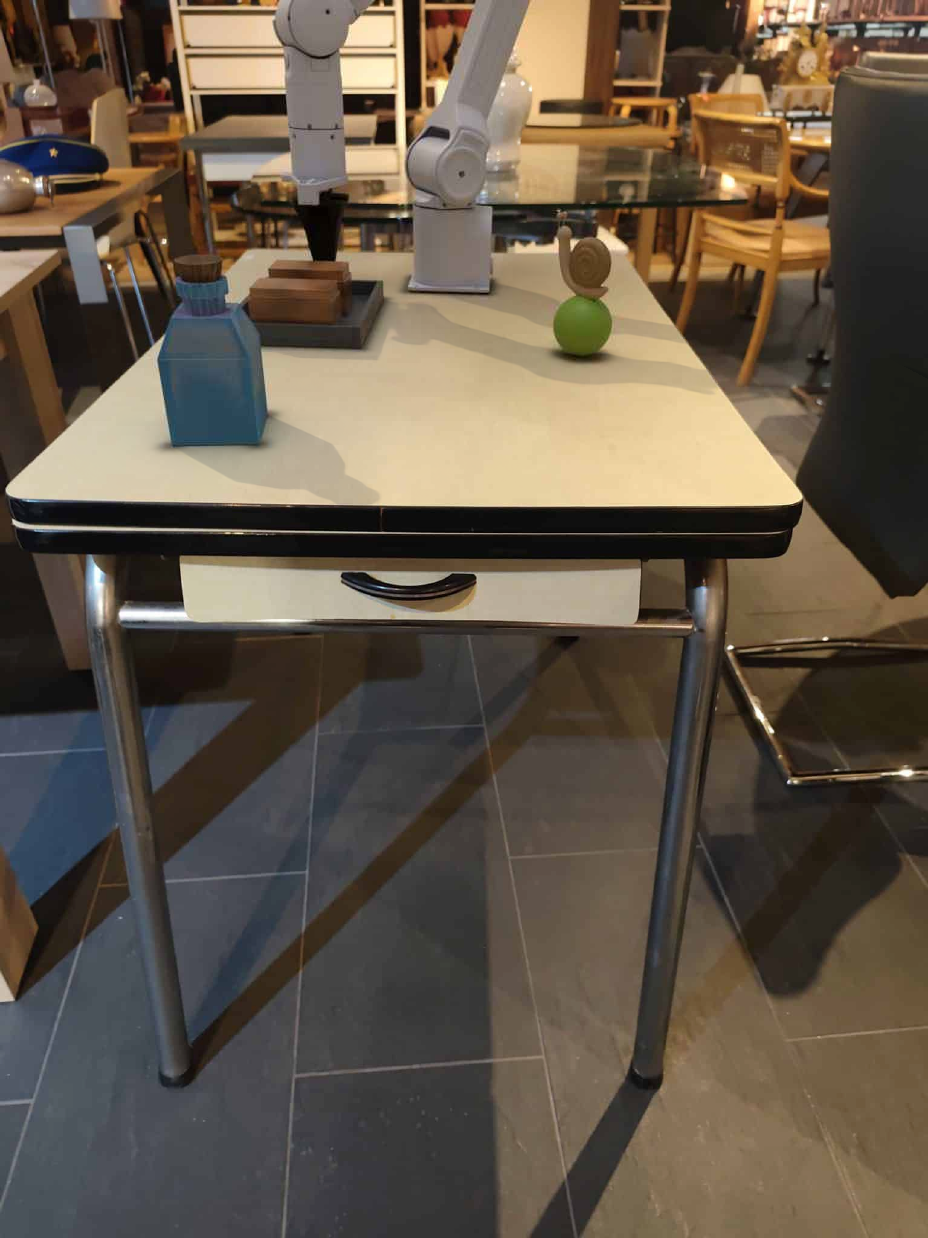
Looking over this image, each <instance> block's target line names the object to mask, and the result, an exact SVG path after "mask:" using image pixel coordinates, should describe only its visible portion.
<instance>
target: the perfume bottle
mask: <svg viewBox="0 0 928 1238" xmlns="http://www.w3.org/2000/svg"><path fill="white" fill-rule="evenodd" d="M174 263H175V267H176V270H177V272H178V276H177V277H175V279H174V282H175V289H176V295H177V296H179V297H180V298H182V302H181V303H180V304H179V306H177V308H176V310H175V311H174V312H173V314H172V315H171V317H170V318H169V321H168V324H167V328H166V331H165V334H164V337H163V340H162V343H161V346H160V350H159V352H158V354H157V359H156V362H157V368H158V374H159V379H160V384H161V385H160V386H161V391H162V392H161V393H162V398H163V402H164V403H163V404H164V409H165V415H166V420H167V426H168V432H169V438H170V443H171V446H174V447H175V446H181V447H182V446H183V447H184V446H243V445H244V446H245V445H246V446H248V445H249V446H250V445H251V446H253V445H257V446H259V445H260V444H261V440H262V438H263V437H262V436H263V433H264V430H265V425H266V423H267V418H268V415H269V411H268V401H267V393H266V392H267V391H266V382H265V373H264V363H263V353H262V345H261V343H260V334H259V332H258V331H257V329H256V328H255V326H254V325H253V323H252V322H251V321H250V319H249V318H248V316H247V315H246V313H245V312H244V310H243V309H242V307H241V306H240V302H227V301H226V295H228V294H229V283H228V277H227V276H226V275H225V274H223V273H222V270H223V257H222V256H219V255H215V254H188V255H183V256H179V257H176V258H174Z"/></svg>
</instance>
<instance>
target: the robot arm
mask: <svg viewBox="0 0 928 1238" xmlns="http://www.w3.org/2000/svg"><path fill="white" fill-rule="evenodd" d="M375 1H376V0H278V2H277V5H276V11H275V15H274V16H275V17H274V19H272V29H273V31H274V34H275V37H276V38H277V39H276V40H278V42H279V44H280V45H281V46H282V48H283V58H284V59H283V61H284V87H285V99H286V100H285V101H286V112H287V113H286V114H287V127H288V138H289V149H290V150H289V153H290V162H291V172H283V173H281V174H280V180H281V182H283V183H290V184H292V185H293V186H294V187H295V188H296V191H297V195H294V196H293V197H291V205H292V207H293V209H294V211H295V214H296V215H297V216H298V218H299V221H300V223H301V225H302V227H303V230H304V234H305V237H306V240H307V245H308V247H309V252H310V255H311V260H312V261H337V256H338V247H339V238H340V232H341V231H340V230H341V225H342V221H343V216H344V214H345V211H346V208H347V206H348V203H349V200H350V194H349V193H344V192H333V189H334V188H338V187H342V186H346V185H348V184H349V175H348V173H347V164H346V163H347V162H346V138H345V120H344V118H345V117H344V99H343V97H344V96H343V77H342V69H341V48H343V47H344V45H345V43H346V42H347V39H348V36H349V32H350V31H349V29H350V26H351V25H353V24H354V23H356V21H358V19H360V17H361V16H362V15H363V14H364V13H365V12H366V11H367V10H368V9H369V8H370V6H371V5H372V4H373V3H374V2H375ZM530 3H531V0H475V2H474V5H473V9H472V11H471V15H470V17H469V19H468V22H467V26H466V29H465V31H464V34H463V38H462V40H461V43H460V46H459V49H458V52H457V55H456V58H455V61H454V64H453V67H452V69H451V72H450V75H449V78H448V80H447V84H446V87H445V89H444V93H443V95H442V98H441V101H440V102H439V103H438V105H436V107H435V108H434V109H433V111H432V112H431V113H430V114H429V115H428V116H427V117H426V119H425V123H424V125H423V128H422V130H421V132H420V133H419V134H418V136H417V137H416V138H415V139H414V140H413V141H412V142H411V144H410V145H409V146H408V149H407V150H406V153H405V157H404V172H405V176H406V179H407V181H408V183H409V184H410V186H411V187H412V188H413V189H414V194H413V198H412V235H413V236H412V237H413V241H412V242H413V243H412V245H413V248H412V249H413V250H412V251H413V272H412V274H411V277H410V279H409V282H408V285H407V290H408V291H413V292H414V291H416V292H417V291H418V292H449V293H450V292H452V293H478V294H479V293H482V294H483V293H484V294H487V293H489V292H490V286H491V275H492V276H493V275H494V261H495V260H494V259H495V258H493V257H492V233H493V232H492V231H493V226H492V225H493V207H492V205H491V206H490V205H479V204H477V198H478V197H479V196H480V194H481V192H482V191H483V189H484V186H485V184H486V179H487V158H488V154H489V150H490V148H491V144H492V138H491V134H490V130H489V125H488V118H489V116H490V113H491V110H492V108H493V105H494V102H495V99H496V96H497V94H498V91H499V89H500V85H501V84H502V80H503V77H504V74H505V72H506V69H507V66H508V64H509V61H510V57H511V55H512V53H513V50H514V47H515V44H516V42H517V39H518V36H519V34H520V31H521V28H522V25H523V22H524V20H525V17H526V14H527V12H528V8H529V6H530Z"/></svg>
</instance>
